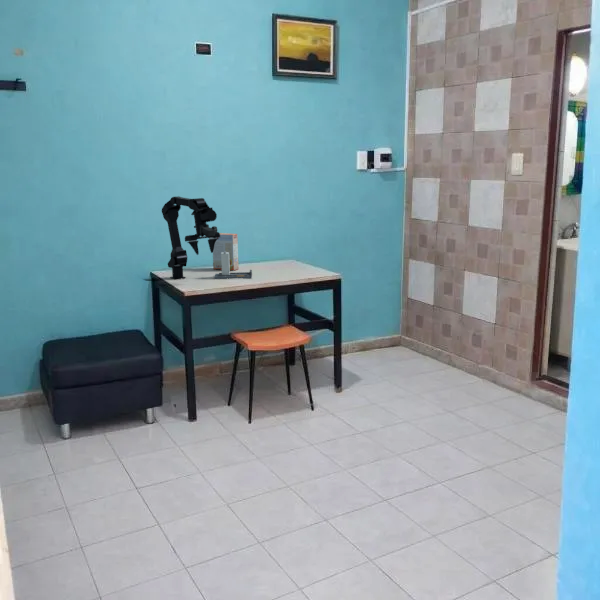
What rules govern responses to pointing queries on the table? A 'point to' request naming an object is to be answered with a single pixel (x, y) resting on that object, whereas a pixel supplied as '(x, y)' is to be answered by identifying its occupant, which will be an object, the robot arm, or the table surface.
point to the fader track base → (234, 275)
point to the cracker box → (229, 245)
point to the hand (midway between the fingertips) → (204, 253)
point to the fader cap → (225, 263)
